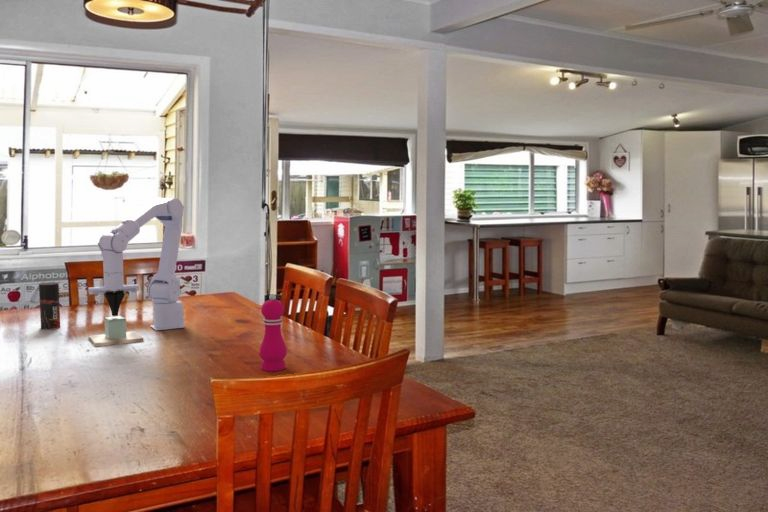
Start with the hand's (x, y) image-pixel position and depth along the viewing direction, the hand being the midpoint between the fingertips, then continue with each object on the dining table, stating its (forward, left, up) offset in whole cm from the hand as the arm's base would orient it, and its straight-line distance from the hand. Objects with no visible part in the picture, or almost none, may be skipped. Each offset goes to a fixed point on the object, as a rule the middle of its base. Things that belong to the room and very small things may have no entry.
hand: (114, 315), depth 212 cm
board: (0, 0, -8) cm, 8 cm away
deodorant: (+15, -31, -8) cm, 35 cm away
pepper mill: (-29, +56, -8) cm, 64 cm away
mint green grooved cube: (0, 0, -7) cm, 7 cm away
